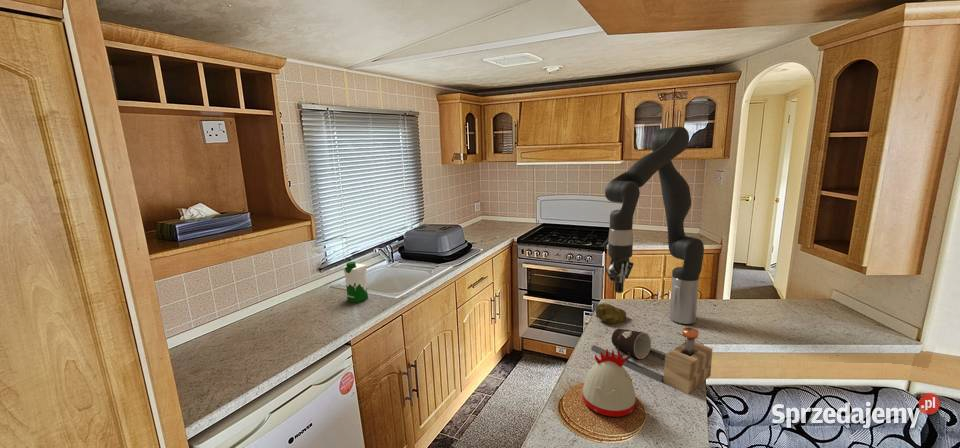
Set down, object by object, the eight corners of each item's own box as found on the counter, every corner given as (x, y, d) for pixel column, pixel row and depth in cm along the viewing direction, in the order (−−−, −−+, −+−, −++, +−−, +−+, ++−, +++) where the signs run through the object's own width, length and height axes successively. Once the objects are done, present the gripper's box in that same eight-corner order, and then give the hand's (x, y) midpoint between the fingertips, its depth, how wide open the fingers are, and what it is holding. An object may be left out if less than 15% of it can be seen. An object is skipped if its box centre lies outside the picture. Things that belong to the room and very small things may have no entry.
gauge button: (684, 356, 119) (687, 326, 117) (698, 361, 115) (701, 330, 114) (678, 360, 116) (680, 330, 115) (692, 366, 113) (694, 334, 111)
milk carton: (344, 304, 185) (340, 263, 181) (359, 297, 193) (355, 258, 189) (357, 307, 180) (353, 265, 177) (372, 300, 188) (368, 260, 184)
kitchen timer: (635, 421, 100) (637, 367, 97) (579, 409, 105) (580, 358, 102) (635, 390, 113) (637, 341, 110) (585, 381, 118) (586, 334, 115)
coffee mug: (624, 322, 139) (649, 329, 131) (627, 345, 140) (652, 354, 131) (602, 332, 133) (626, 340, 125) (604, 356, 134) (629, 365, 126)
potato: (630, 326, 153) (631, 307, 151) (597, 327, 153) (597, 307, 152) (624, 318, 161) (624, 299, 159) (592, 318, 161) (592, 299, 160)
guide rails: (616, 337, 144) (616, 333, 144) (685, 365, 124) (685, 361, 124) (591, 350, 135) (591, 346, 135) (661, 382, 116) (661, 377, 116)
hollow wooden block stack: (686, 366, 124) (688, 340, 122) (710, 376, 118) (712, 348, 117) (663, 382, 116) (665, 354, 114) (687, 394, 110) (689, 364, 108)
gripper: (622, 237, 136) (620, 285, 139) (598, 243, 128) (597, 294, 131) (642, 240, 130) (640, 290, 133) (618, 247, 122) (617, 300, 125)
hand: (618, 292), depth 132 cm, fingers closed
